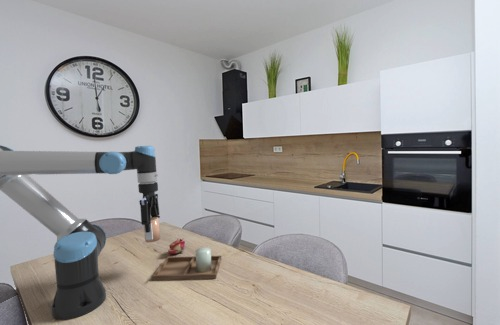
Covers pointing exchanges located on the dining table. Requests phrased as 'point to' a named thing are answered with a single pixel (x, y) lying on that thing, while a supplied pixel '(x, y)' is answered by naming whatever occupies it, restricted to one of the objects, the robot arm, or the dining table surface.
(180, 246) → the flower
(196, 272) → the wooden divided tray
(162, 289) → the dining table surface
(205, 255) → the pale green rounded cylinder
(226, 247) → the dining table surface
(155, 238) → the pink cylinder
